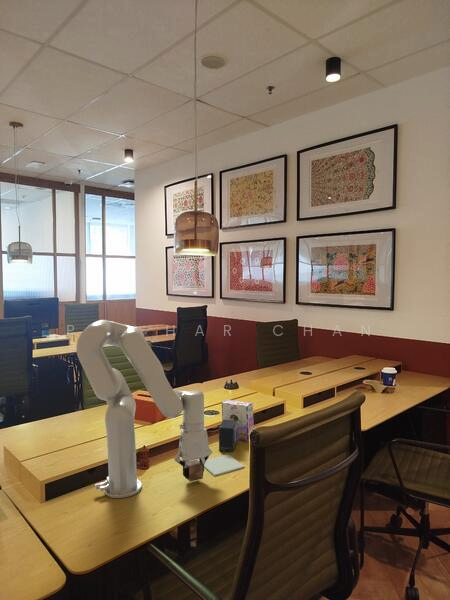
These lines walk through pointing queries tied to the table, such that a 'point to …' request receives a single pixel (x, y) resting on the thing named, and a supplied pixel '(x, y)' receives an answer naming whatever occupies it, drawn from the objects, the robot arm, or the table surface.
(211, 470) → the mat
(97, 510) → the table surface
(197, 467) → the cube
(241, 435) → the candy box
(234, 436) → the small box
